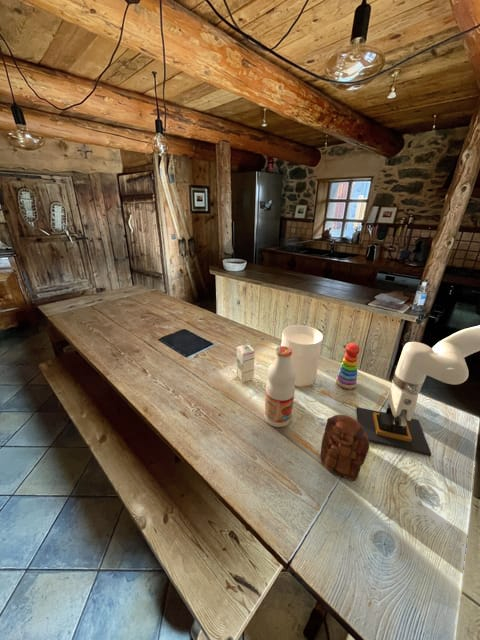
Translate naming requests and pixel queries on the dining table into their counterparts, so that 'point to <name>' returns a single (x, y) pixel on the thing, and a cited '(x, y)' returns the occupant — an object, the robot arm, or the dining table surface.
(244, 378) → the syrup box
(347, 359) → the stacking toy
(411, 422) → the base pad
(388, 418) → the black pad
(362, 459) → the wooden figurine
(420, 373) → the robot arm
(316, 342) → the canister
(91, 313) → the dining table surface
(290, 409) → the fruit juice
